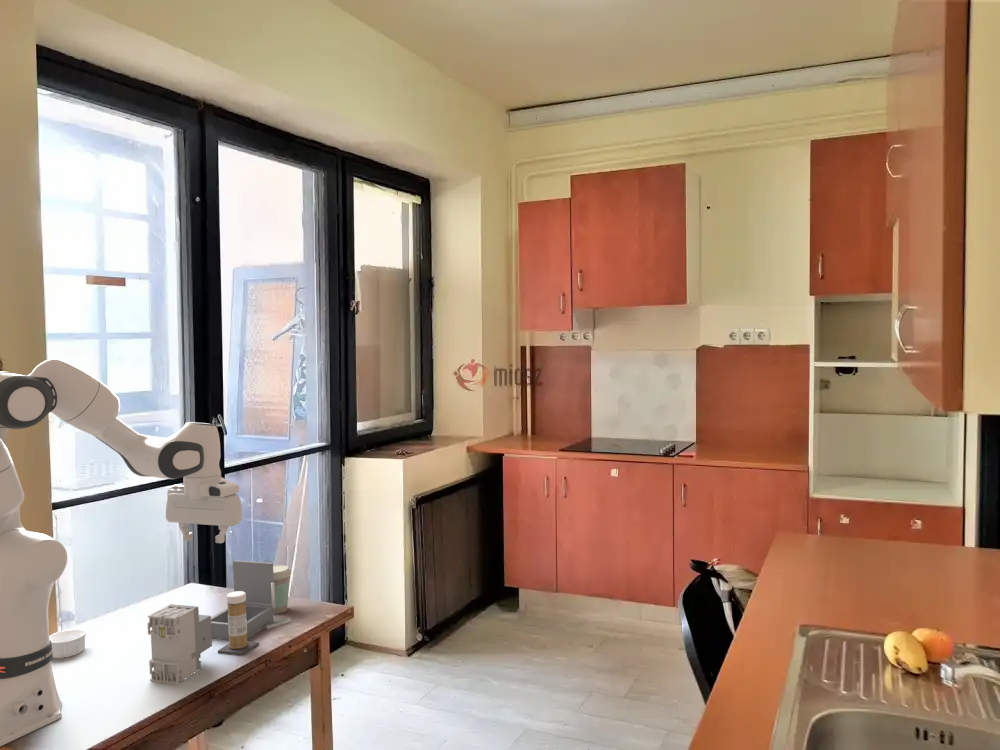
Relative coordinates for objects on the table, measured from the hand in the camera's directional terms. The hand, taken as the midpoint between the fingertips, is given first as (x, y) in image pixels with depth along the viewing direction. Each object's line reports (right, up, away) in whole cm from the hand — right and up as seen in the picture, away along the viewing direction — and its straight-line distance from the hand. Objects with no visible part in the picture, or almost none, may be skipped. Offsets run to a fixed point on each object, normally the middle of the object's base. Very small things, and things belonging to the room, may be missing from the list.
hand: (203, 541), depth 199 cm
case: (+5, -26, +13) cm, 29 cm away
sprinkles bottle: (+9, -26, 0) cm, 28 cm away
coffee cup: (+11, -25, +27) cm, 38 cm away
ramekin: (-34, -28, 0) cm, 44 cm away
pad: (+9, -27, 0) cm, 28 cm away
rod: (+14, -26, +15) cm, 33 cm away
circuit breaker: (0, -28, -12) cm, 30 cm away
